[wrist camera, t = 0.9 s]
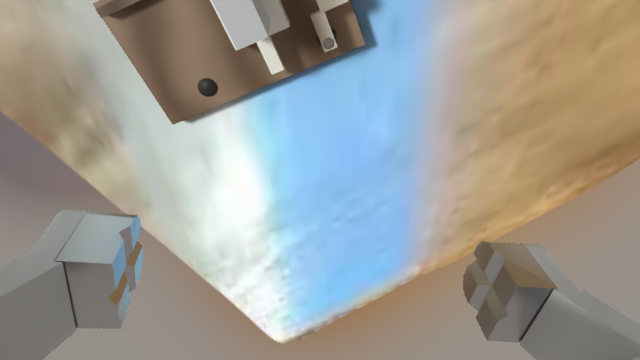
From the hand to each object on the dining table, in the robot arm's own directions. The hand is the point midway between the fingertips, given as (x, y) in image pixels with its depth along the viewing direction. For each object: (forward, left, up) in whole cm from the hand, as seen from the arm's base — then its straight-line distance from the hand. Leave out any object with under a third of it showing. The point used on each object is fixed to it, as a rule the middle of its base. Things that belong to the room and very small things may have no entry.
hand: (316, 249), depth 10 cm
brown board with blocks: (+5, -1, -32) cm, 33 cm away
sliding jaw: (+3, 0, -30) cm, 31 cm away
